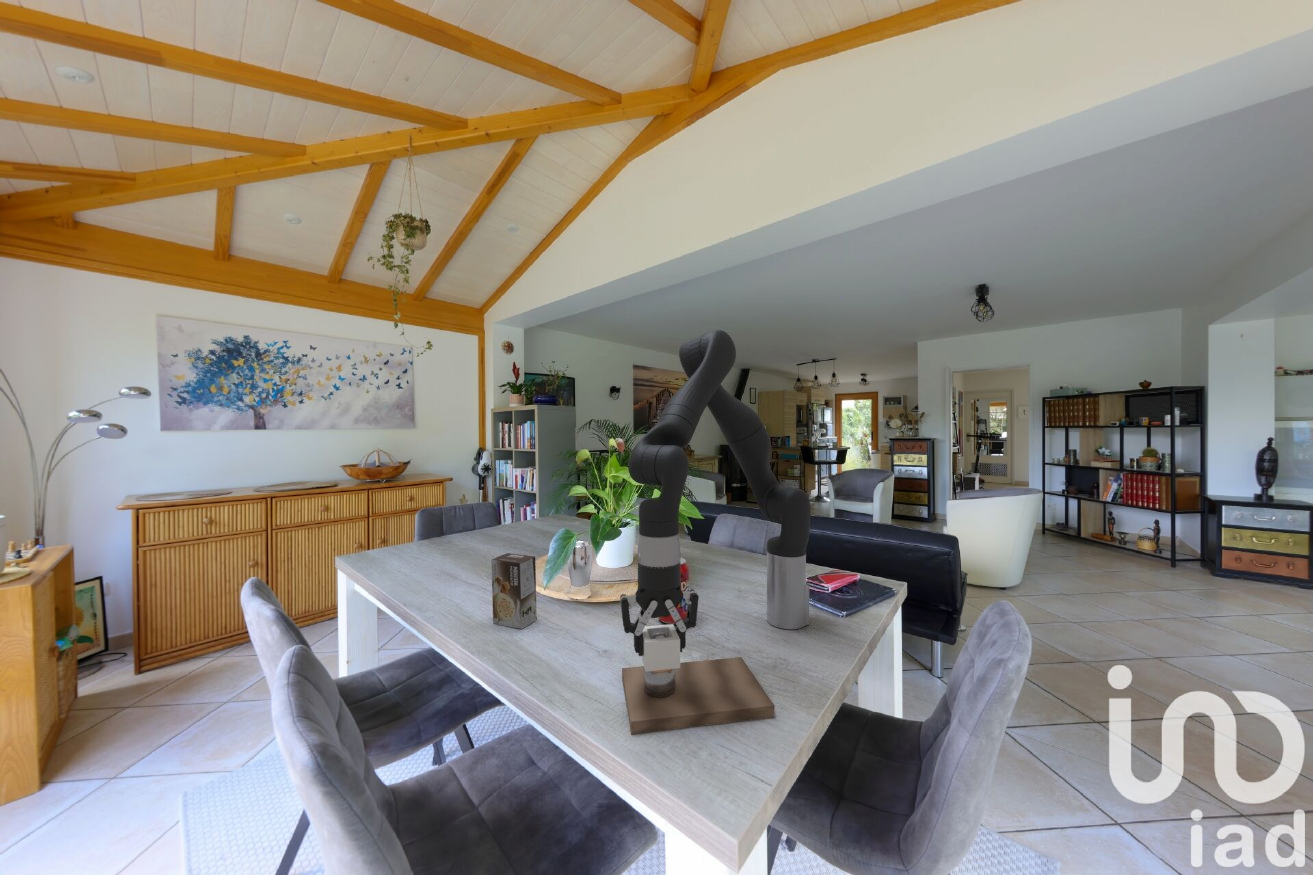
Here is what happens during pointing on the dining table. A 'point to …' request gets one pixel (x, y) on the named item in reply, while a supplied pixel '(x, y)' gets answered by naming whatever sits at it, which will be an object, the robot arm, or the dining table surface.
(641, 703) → the pipe stand
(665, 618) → the soda can
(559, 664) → the dining table surface
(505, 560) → the coffee box
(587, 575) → the beer glass
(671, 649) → the collar
